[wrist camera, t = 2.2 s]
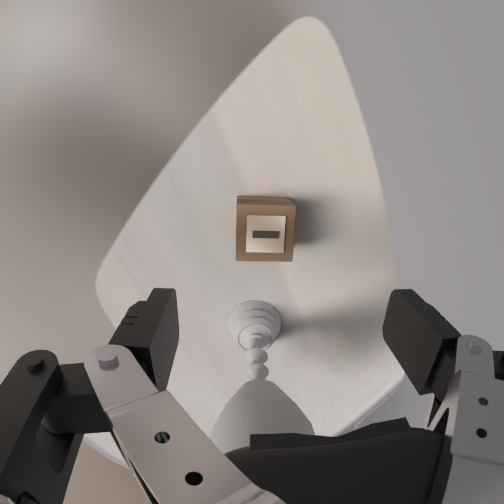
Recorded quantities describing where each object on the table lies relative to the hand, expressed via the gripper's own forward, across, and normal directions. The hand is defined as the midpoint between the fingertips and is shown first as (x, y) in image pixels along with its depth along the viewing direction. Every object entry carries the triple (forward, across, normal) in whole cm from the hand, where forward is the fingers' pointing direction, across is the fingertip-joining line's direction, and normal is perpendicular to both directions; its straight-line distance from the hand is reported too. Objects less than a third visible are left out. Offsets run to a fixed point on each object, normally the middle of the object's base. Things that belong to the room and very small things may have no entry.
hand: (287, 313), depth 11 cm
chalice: (+15, 0, +10) cm, 18 cm away
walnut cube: (+15, 0, 0) cm, 15 cm away
